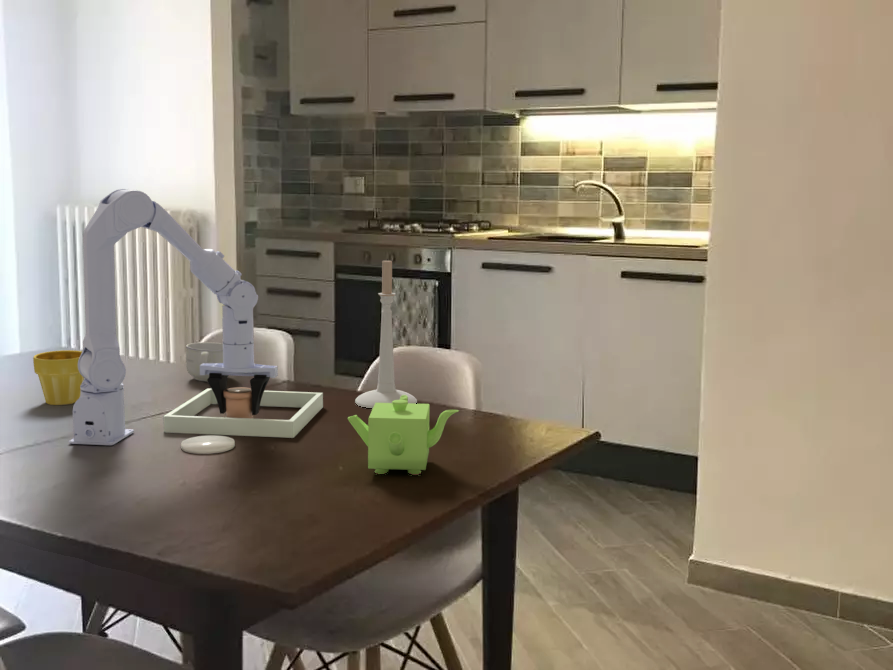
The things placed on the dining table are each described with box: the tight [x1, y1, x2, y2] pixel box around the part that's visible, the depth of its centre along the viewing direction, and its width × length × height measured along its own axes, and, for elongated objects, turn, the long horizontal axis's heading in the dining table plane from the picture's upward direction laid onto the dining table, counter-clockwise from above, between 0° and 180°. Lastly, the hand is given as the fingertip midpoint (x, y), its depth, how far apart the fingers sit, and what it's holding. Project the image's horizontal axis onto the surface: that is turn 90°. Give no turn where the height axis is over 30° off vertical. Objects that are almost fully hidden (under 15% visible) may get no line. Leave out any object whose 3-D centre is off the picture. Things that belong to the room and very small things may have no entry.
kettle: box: [347, 395, 460, 474], centre depth 162 cm, size 15×14×11 cm
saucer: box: [180, 434, 236, 455], centre depth 173 cm, size 9×9×1 cm
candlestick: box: [354, 258, 418, 410], centre depth 205 cm, size 13×13×30 cm
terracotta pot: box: [223, 386, 254, 419], centre depth 190 cm, size 6×6×6 cm
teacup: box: [185, 341, 230, 382], centre depth 226 cm, size 14×11×8 cm
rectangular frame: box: [163, 387, 324, 439], centre depth 192 cm, size 24×24×3 cm
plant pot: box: [32, 349, 85, 406], centre depth 203 cm, size 10×10×10 cm
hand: (239, 413), depth 190 cm, fingers closed on terracotta pot, 6 cm apart
